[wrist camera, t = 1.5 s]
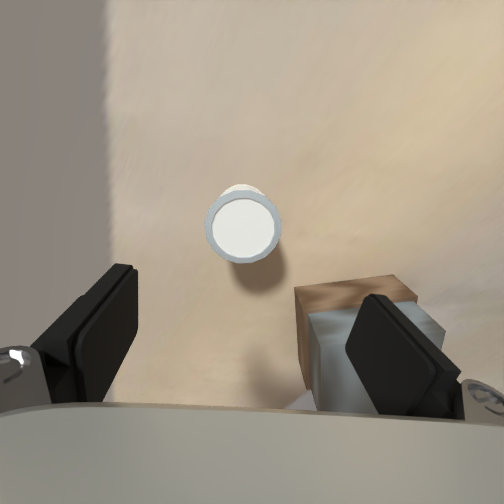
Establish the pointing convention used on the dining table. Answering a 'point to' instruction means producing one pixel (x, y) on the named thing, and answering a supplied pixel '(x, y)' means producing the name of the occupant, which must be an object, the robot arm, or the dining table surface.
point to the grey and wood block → (345, 337)
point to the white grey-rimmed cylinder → (243, 225)
